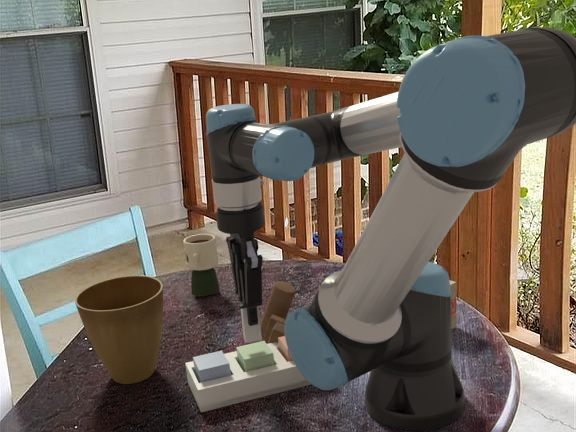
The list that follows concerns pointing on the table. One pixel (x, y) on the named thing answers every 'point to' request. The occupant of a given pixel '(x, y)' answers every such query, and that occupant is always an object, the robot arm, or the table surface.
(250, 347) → the sage key
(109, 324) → the plant pot
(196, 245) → the character mug
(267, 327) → the wooden block set
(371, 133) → the robot arm
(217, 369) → the blue key
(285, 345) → the terracotta key
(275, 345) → the key console
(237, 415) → the table surface
